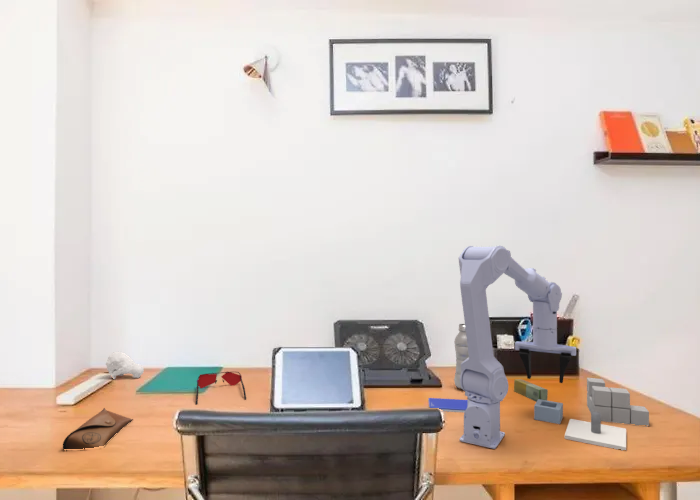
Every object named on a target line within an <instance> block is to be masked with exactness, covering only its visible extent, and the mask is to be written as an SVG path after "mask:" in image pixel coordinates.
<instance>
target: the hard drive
mask: <svg viewBox="0 0 700 500" xmlns="http://www.w3.org/2000/svg"><path fill="white" fill-rule="evenodd" d="M429 407H430V408H439V409H441V410H443V411H442V412H444V411H445V412H446V411H447V412H446V413H449V412H450V413H464V412H465V410H466V409H467V399H456V398H454V399H453V398H441V397H440V398H437V397H435V398H434V397H428V408H429Z"/></svg>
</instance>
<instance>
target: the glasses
mask: <svg viewBox="0 0 700 500" xmlns="http://www.w3.org/2000/svg"><path fill="white" fill-rule="evenodd" d="M220 374H222V375H221V376H220V377H221V378H222V382H223V383H225V382H226V383H227V384H228V385H230V386H236V385H237V384H239V383H241V386H242V391H243V398H244V401H247V395H246V388H245V385H244V383H243V379H242V374H241V373H240V372H239V371H236V372H232V371H223V372H220ZM217 376H218V372H209V373H202V374H199V376H198V378H197V380H196V391H195V392H196V395H195V405H196V406H197V405H198V403H199V402H198V401H199V389H203V388H206V387H208V386H210V385H213V384H217V382H218V380H217Z"/></svg>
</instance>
